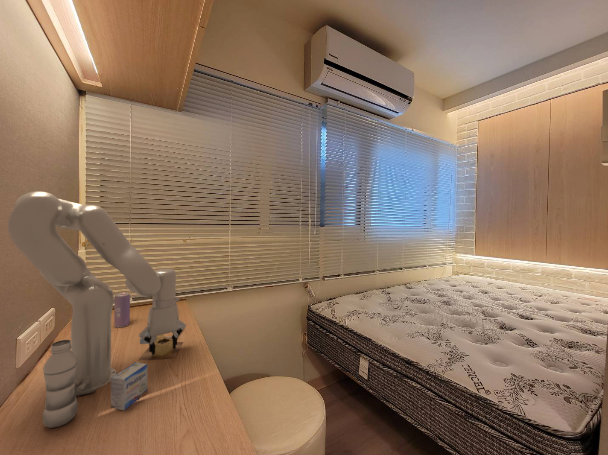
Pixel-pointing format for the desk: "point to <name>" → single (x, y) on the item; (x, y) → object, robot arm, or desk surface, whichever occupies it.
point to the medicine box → (128, 386)
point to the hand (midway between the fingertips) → (163, 349)
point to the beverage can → (121, 309)
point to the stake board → (149, 356)
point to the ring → (163, 346)
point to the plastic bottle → (60, 385)
